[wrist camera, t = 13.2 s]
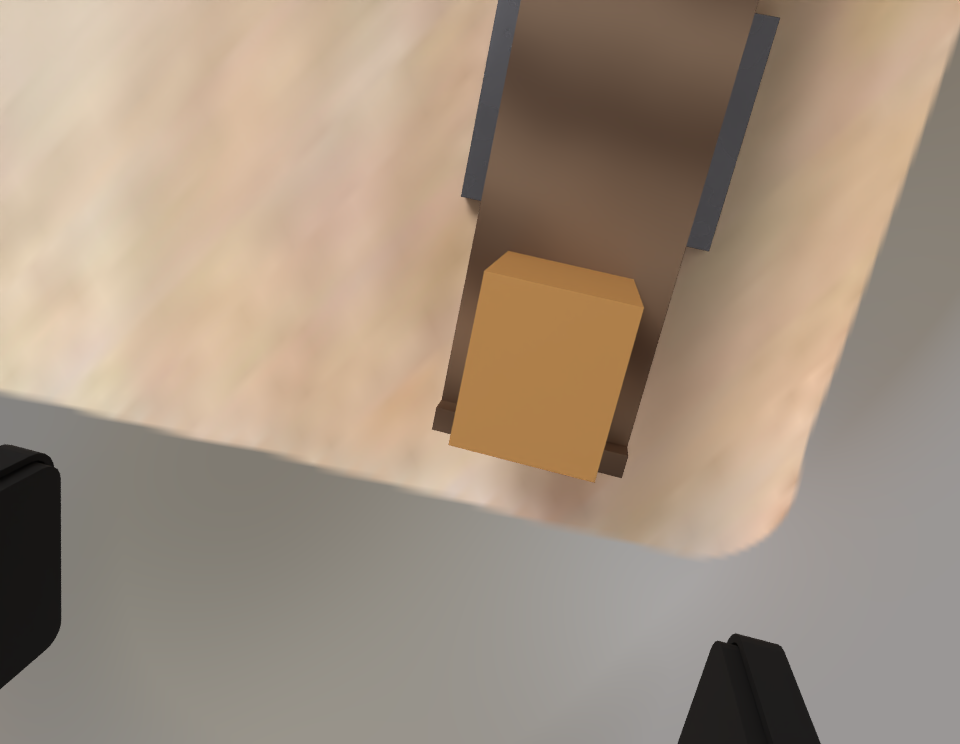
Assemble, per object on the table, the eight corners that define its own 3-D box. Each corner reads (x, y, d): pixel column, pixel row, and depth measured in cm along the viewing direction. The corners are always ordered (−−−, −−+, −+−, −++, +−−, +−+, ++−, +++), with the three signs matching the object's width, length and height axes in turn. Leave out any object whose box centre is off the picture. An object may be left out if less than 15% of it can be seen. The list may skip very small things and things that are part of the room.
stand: (507, -27, 31) (488, -71, 25) (774, 23, 30) (814, -12, 24) (435, 347, 36) (407, 377, 31) (659, 402, 35) (670, 443, 30)
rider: (508, 250, 27) (484, 270, 21) (633, 279, 26) (644, 307, 21) (478, 391, 29) (448, 444, 23) (595, 420, 28) (594, 482, 22)
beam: (602, -375, 22) (603, -441, 20) (851, -342, 21) (883, -406, 19) (444, 409, 31) (432, 429, 28) (619, 454, 30) (621, 478, 27)
